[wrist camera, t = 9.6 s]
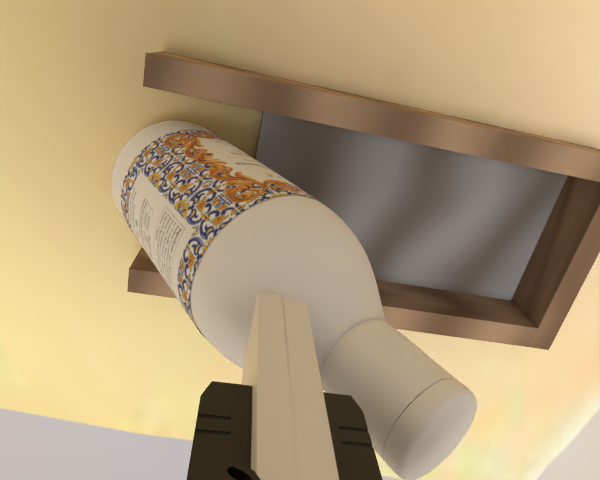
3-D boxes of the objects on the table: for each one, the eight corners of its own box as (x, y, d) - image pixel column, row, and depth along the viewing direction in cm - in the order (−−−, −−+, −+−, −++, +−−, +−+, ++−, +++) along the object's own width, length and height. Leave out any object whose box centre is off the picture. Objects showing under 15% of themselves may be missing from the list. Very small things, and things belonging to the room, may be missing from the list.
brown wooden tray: (143, 260, 29) (127, 291, 26) (162, 52, 25) (145, 53, 21) (517, 316, 34) (548, 349, 30) (596, 148, 29) (645, 163, 25)
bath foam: (245, 146, 28) (557, 339, 13) (197, 243, 29) (436, 516, 15) (140, 94, 23) (451, 309, 9) (87, 214, 24) (285, 575, 10)
